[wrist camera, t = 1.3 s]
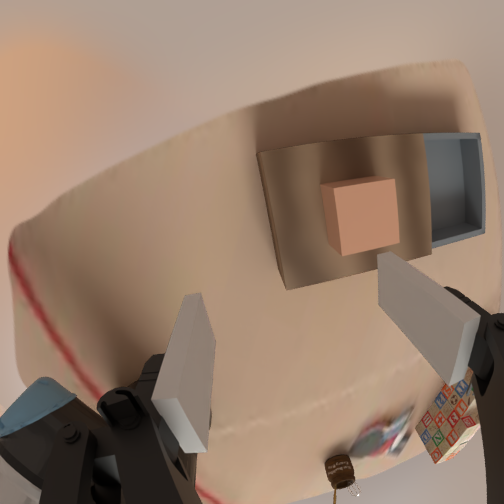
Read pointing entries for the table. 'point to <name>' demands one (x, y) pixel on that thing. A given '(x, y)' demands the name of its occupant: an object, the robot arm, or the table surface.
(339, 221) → the salmon orange block
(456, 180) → the box
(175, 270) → the table surface
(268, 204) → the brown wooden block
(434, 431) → the stack of blocks
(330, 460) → the utensil holder
